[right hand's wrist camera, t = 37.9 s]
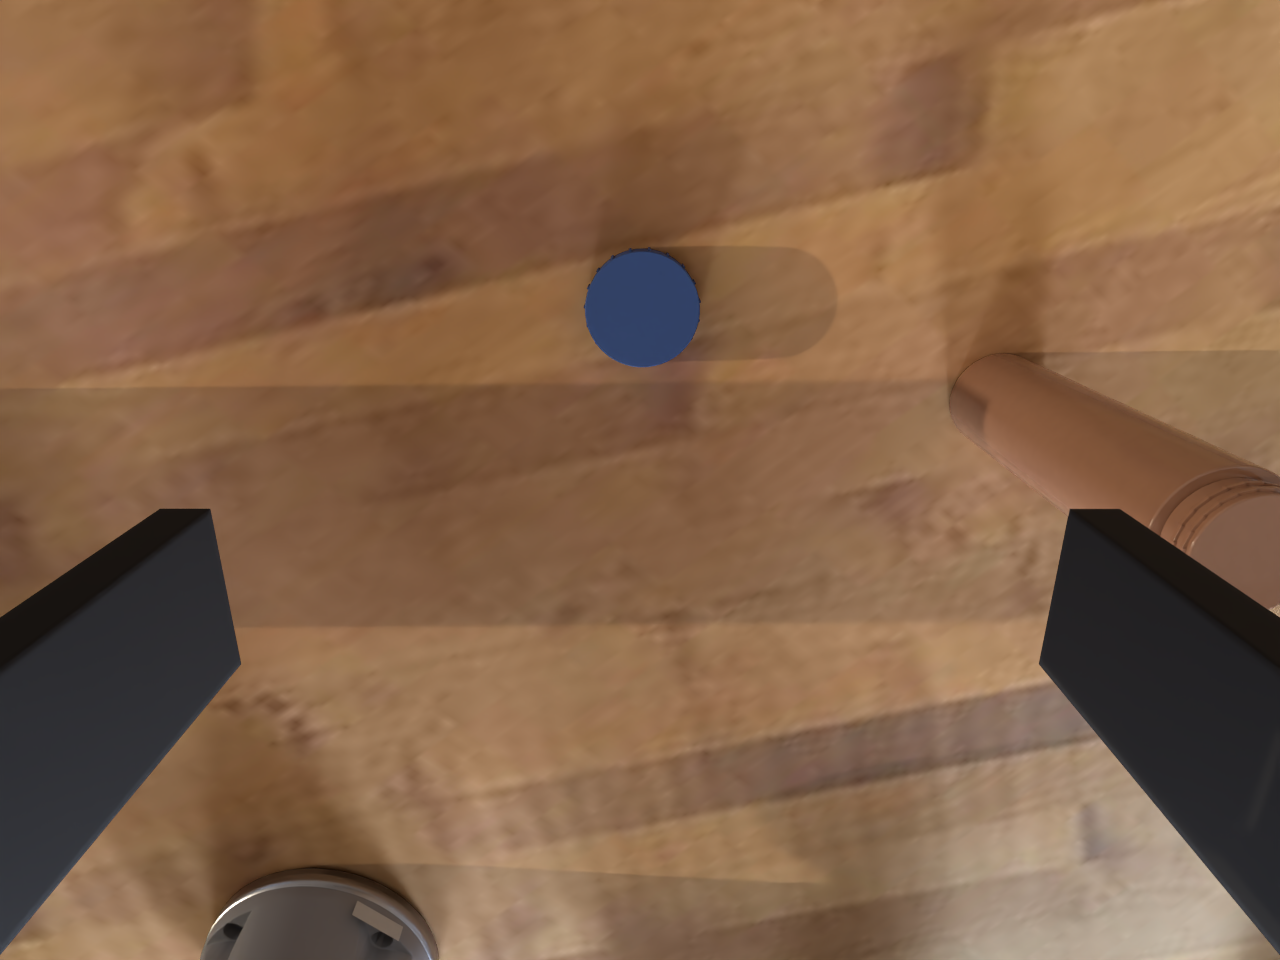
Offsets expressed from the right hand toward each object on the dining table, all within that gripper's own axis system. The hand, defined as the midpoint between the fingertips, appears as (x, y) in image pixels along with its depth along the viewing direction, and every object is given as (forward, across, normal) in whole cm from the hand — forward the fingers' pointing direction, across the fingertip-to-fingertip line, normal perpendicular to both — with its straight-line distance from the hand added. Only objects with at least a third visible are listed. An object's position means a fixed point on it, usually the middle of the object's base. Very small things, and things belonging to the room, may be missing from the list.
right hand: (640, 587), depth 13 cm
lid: (+28, 0, 0) cm, 28 cm away
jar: (+30, +18, -5) cm, 35 cm away
